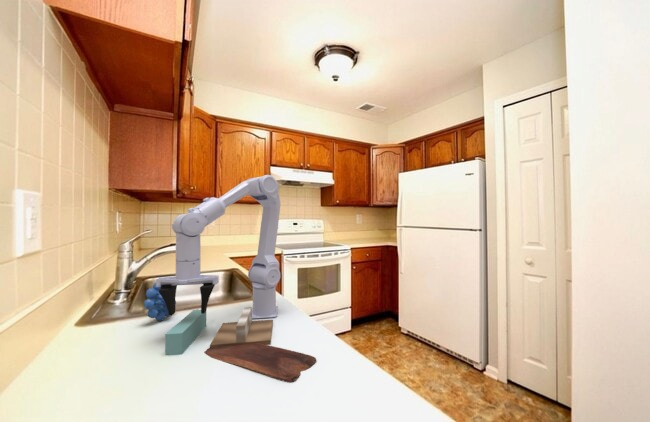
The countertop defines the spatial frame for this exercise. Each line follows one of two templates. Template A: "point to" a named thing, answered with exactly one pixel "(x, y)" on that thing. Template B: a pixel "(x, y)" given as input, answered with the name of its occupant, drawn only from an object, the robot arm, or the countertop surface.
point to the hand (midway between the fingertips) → (188, 313)
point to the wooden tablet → (265, 359)
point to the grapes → (156, 304)
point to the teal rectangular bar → (184, 333)
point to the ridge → (243, 331)
